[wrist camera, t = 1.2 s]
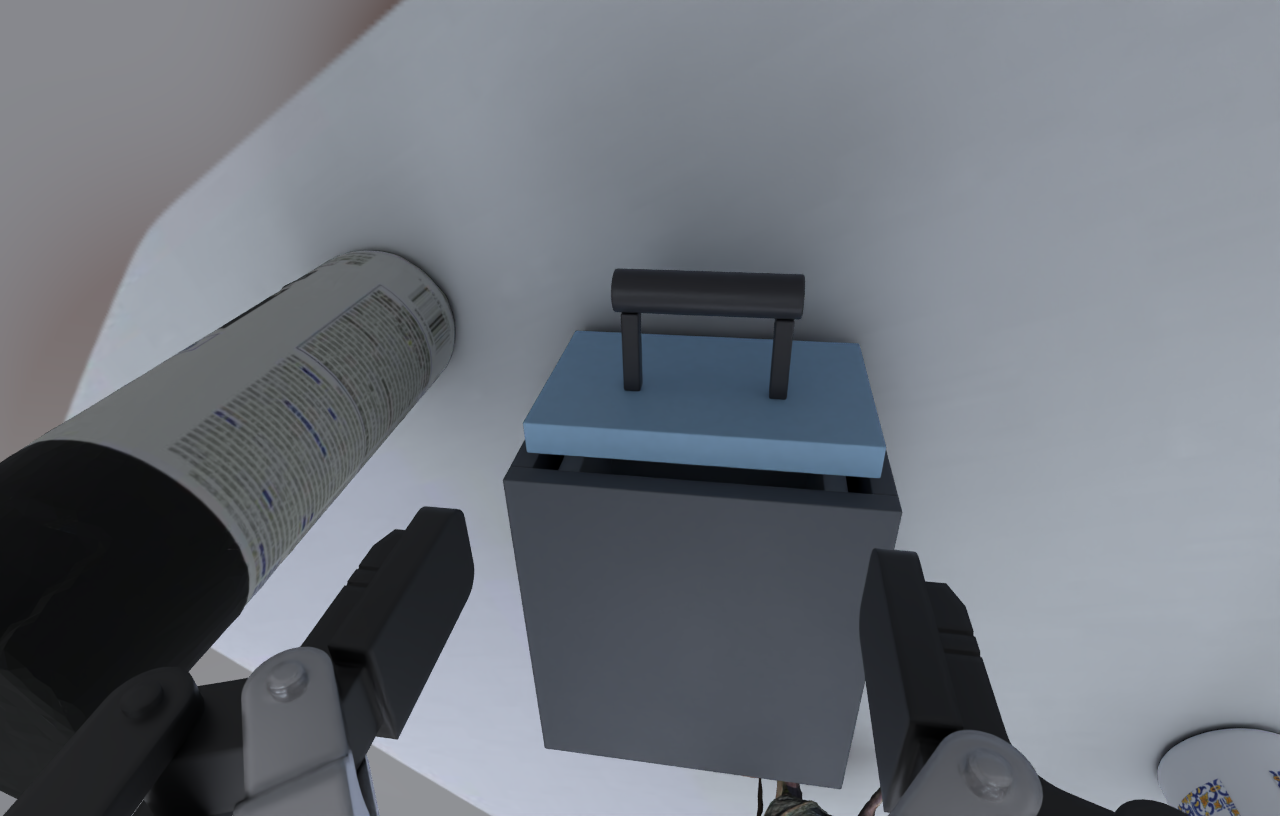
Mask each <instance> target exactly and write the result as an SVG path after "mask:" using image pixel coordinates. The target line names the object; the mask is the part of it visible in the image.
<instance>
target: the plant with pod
mask: <svg viewBox="0 0 1280 816" xmlns="http://www.w3.org/2000/svg"><path fill="white" fill-rule="evenodd" d="M747 777H749V776H747ZM751 778H756V777H751ZM762 793H763V791H762V784H761V778H759V787H758V811H757V816H761V814H762V812H763V801H762ZM882 802H883V801H882V794H881V787H880V788H879V789H878V790H877V791H876V792H875V793H874V794H873V795H872V797H871V799H870V800H869V801H868V802H867V803H866V804H865V806H864V807H863V809H862V810H861V811H860V813H859V814H858V816H875V810H876V808H877V807H878V806H879V805H880V804H881V803H882ZM764 816H832V815H829V814H827V812H826V811H824V810H823V809H822V808H821V807H820V806H819V805H818V804H817V803H816V802H814V801H810V800H809V801H807V800H802V792H801V790H800V785H799V783H792V782H784V781H777V792H776V799H774V800H773V801H772V802H771V803H770V805H769V807H768V809H767V811H766V812H765V814H764Z"/></svg>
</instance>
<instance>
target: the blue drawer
mask: <svg viewBox="0 0 1280 816" xmlns="http://www.w3.org/2000/svg"><path fill="white" fill-rule="evenodd" d="M804 297H805V276H804V275H803V274H775V273H743V272H712V271H680V270H648V269H615V271H614V273H613V277H612V285H611V301H612V307H613V310H614V311H615V312H622V313H621V333H617V332H595V331H575V333H574V335H573V337H572V338H571V340H570V342H569V344H568V345H567V347H566V349H565V351H564V352H563V354H562V356H561V358H560V359H559V361H558V363H557V365H556V366H555V368H554V370H553V372H552V373H551V375H550V377H549V379H548V380H547V382H546V384H545V386H544V387H543V389H542V391H541V393H540V394H539V396H538V398H537V399H536V401H535V403H534V405H533V406H532V408H531V410H530V412H529V413H528V415H527V417H526V419H525V420H524V422H523V427H524V434H525V442H526V449H527V452H528V453H540V454H554V455H565V456H564V458H563V461H562V463H561V465H560V467H559V470H562V471H575V472H588V473H601V474H614V475H627V476H640V477H653V478H666V479H679V480H692V481H705V482H719V483H732V484H745V485H758V486H771V487H784V488H797V489H810V490H823V491H836V492H848V487H847V481H846V476H854V477H868V478H880V477H881V472H882V467H883V462H884V457H885V452H886V445H885V441H884V437H883V433H882V429H881V425H880V422H879V418H878V414H877V410H876V406H875V402H874V398H873V395H872V391H871V387H870V383H869V379H868V375H867V372H866V368H865V364H864V360H863V356H862V352H861V349H860V345H859V344H858V343H837V342H815V341H793V332H794V319H798V320H799V319H801V318H802V314H803V308H804ZM641 313H652V314H676V315H701V316H725V317H749V318H774V319H775V323H774V335H773V340H771V339H749V338H727V337H705V336H683V335H661V334H641Z"/></svg>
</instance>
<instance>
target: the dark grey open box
mask: <svg viewBox="0 0 1280 816" xmlns="http://www.w3.org/2000/svg"><path fill="white" fill-rule="evenodd" d="M564 456H565V455H554V454H540V453H528V452H527V449H526V442H525V441H524V442H523V444H522V446H521V448H520V450H519V452H518V453H517V455H516V457H515V459H514V461H513V462H512V464H511V467H510V468H509V470H508V472H507V474H506V475H505V477H504V479H503V484H504V490H505V496H506V503H507V509H508V516H509V522H510V528H511V535H512V541H513V548H514V554H515V560H516V567H517V573H518V579H519V586H520V592H521V599H522V605H523V611H524V618H525V624H526V631H527V637H528V643H529V650H530V656H531V662H532V669H533V675H534V682H535V688H536V694H537V701H538V707H539V714H540V720H541V726H542V733H543V739H544V746H545V748H547V749H554V750H561V751H569V752H576V753H583V754H590V755H597V756H605V757H612V758H619V759H626V760H633V761H641V762H648V763H655V764H662V765H669V766H677V767H684V768H691V769H698V770H705V771H713V772H720V773H727V774H734V775H741V776H749V777H756V778H763V779H770V780H777V781H784V782H792V783H799V784H806V785H813V786H820V787H828V788H835V789H841V788H842V784H843V779H844V775H845V770H846V765H847V761H848V756H849V752H850V747H851V743H852V738H853V734H854V729H855V725H856V720H857V716H858V711H859V706H860V702H861V697H862V693H863V688H864V684H865V674H864V667H863V659H862V652H861V645H860V637H859V615H860V606H861V601H862V596H863V591H864V586H865V581H866V576H867V571H868V566H869V561H870V556H871V553H872V550H873V549H874V548H878V549H889V550H894V547H895V543H896V538H897V534H898V529H899V525H900V520H901V516H902V509H901V505H900V502H899V498H898V494H897V490H896V486H895V482H894V478H893V475H892V471H891V467H890V463H889V459H888V455H887V451H886V452H885V457H884V462H883V467H882V472H881V477H880V478H868V477H854V476H846V481H847V487H848V492H836V491H823V490H810V489H797V488H784V487H771V486H758V485H745V484H732V483H719V482H705V481H692V480H679V479H666V478H653V477H640V476H627V475H614V474H601V473H588V472H575V471H562V470H559V467H560V465H561V463H562V461H563V458H564Z"/></svg>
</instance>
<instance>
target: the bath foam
mask: <svg viewBox="0 0 1280 816" xmlns="http://www.w3.org/2000/svg"><path fill="white" fill-rule="evenodd" d="M1157 777H1158V782H1159V785H1160V788H1161V790H1162V792H1163V794H1164V796H1165V798H1166V800H1167V802H1168V804H1169V806H1172V807H1174V808H1176V809H1178V810H1180V811H1182V812H1184V813H1186V814H1188V815H1189V816H1280V735H1279V734H1276V733H1273V732H1269V731H1264V730H1258V729H1246V728H1234V729H1222V730H1216V731H1210V732H1206V733H1203V734H1199V735H1196V736H1193V737H1191V738H1189V739H1186V740H1184V741H1182V742H1181V743H1179V744H1177V745H1176V746H1174V747H1173V748H1172V749H1170V750H1169V751H1168V752H1167V753H1166V754H1165V756H1164V757H1163V758H1162V760H1161V762H1160V764H1159V767H1158V771H1157Z"/></svg>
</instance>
